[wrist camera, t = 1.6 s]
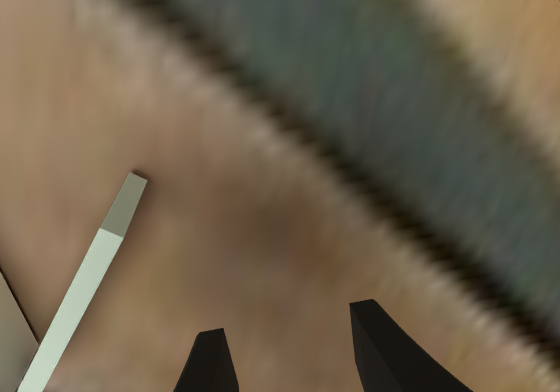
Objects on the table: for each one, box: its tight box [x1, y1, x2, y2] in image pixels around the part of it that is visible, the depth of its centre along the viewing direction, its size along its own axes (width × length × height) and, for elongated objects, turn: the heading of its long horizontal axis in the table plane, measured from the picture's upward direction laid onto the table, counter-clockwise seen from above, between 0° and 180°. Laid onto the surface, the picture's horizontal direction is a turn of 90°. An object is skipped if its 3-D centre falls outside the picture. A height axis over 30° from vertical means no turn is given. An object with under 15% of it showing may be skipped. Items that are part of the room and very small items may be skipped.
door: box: [15, 172, 148, 392], centre depth 18 cm, size 11×1×5 cm, turn 148°
